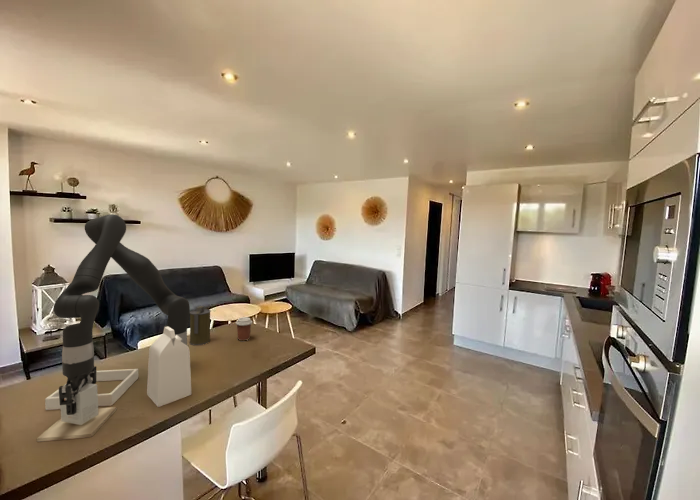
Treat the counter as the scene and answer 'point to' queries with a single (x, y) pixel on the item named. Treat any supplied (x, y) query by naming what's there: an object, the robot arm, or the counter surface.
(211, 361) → the counter surface
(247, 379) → the counter surface
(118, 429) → the counter surface
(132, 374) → the bin
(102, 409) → the board
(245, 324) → the coffee cup
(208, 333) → the canister
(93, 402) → the small box
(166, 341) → the milk
